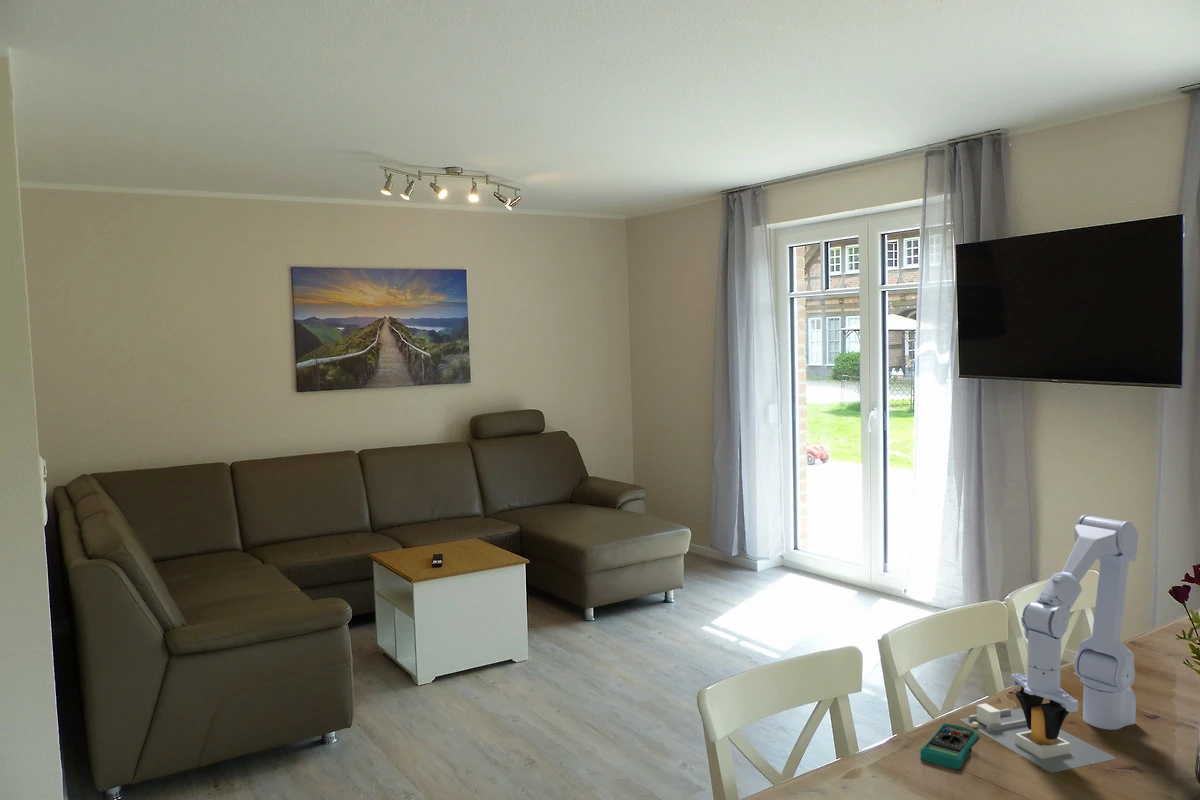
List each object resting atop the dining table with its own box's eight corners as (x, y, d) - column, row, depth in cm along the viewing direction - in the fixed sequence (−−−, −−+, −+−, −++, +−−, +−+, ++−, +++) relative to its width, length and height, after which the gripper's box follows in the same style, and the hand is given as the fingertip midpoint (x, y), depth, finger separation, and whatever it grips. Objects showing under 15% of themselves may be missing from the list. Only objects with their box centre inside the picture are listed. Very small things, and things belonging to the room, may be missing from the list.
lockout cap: (1042, 734, 170) (1042, 704, 170) (1058, 743, 166) (1059, 713, 166) (1026, 737, 169) (1026, 707, 168) (1042, 746, 165) (1042, 716, 165)
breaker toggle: (985, 718, 181) (985, 703, 180) (1000, 726, 177) (1000, 710, 177) (976, 719, 180) (976, 704, 180) (990, 727, 176) (990, 712, 176)
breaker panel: (1019, 713, 186) (1019, 699, 186) (1117, 764, 163) (1117, 748, 163) (958, 724, 181) (958, 710, 181) (1051, 779, 158) (1051, 762, 158)
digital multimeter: (980, 743, 174) (980, 729, 173) (958, 772, 162) (959, 757, 162) (942, 733, 178) (942, 720, 178) (919, 761, 167) (919, 747, 166)
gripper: (999, 654, 172) (997, 721, 173) (1058, 681, 158) (1056, 753, 159) (1027, 650, 174) (1025, 715, 175) (1087, 676, 161) (1086, 747, 162)
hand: (1042, 733), depth 167 cm, fingers closed on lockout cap, 4 cm apart
